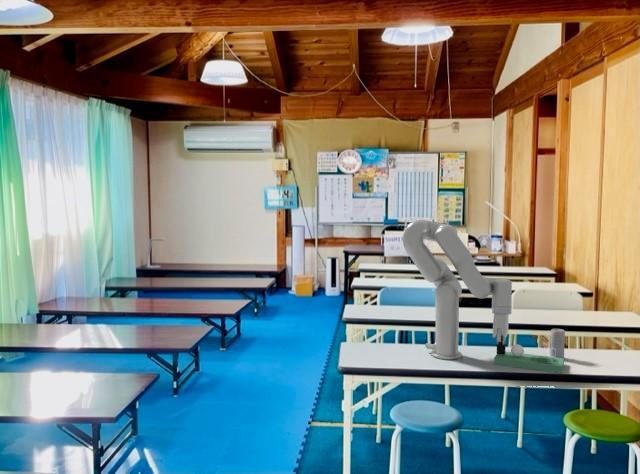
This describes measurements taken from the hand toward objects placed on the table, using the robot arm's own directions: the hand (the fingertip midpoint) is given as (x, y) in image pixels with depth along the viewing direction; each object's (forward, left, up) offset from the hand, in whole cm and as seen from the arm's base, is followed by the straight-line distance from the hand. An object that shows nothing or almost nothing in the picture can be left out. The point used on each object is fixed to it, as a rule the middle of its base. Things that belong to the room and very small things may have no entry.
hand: (501, 353), depth 224 cm
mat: (+11, +1, -3) cm, 11 cm away
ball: (+6, +1, +2) cm, 7 cm away
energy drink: (+20, +15, -3) cm, 25 cm away
